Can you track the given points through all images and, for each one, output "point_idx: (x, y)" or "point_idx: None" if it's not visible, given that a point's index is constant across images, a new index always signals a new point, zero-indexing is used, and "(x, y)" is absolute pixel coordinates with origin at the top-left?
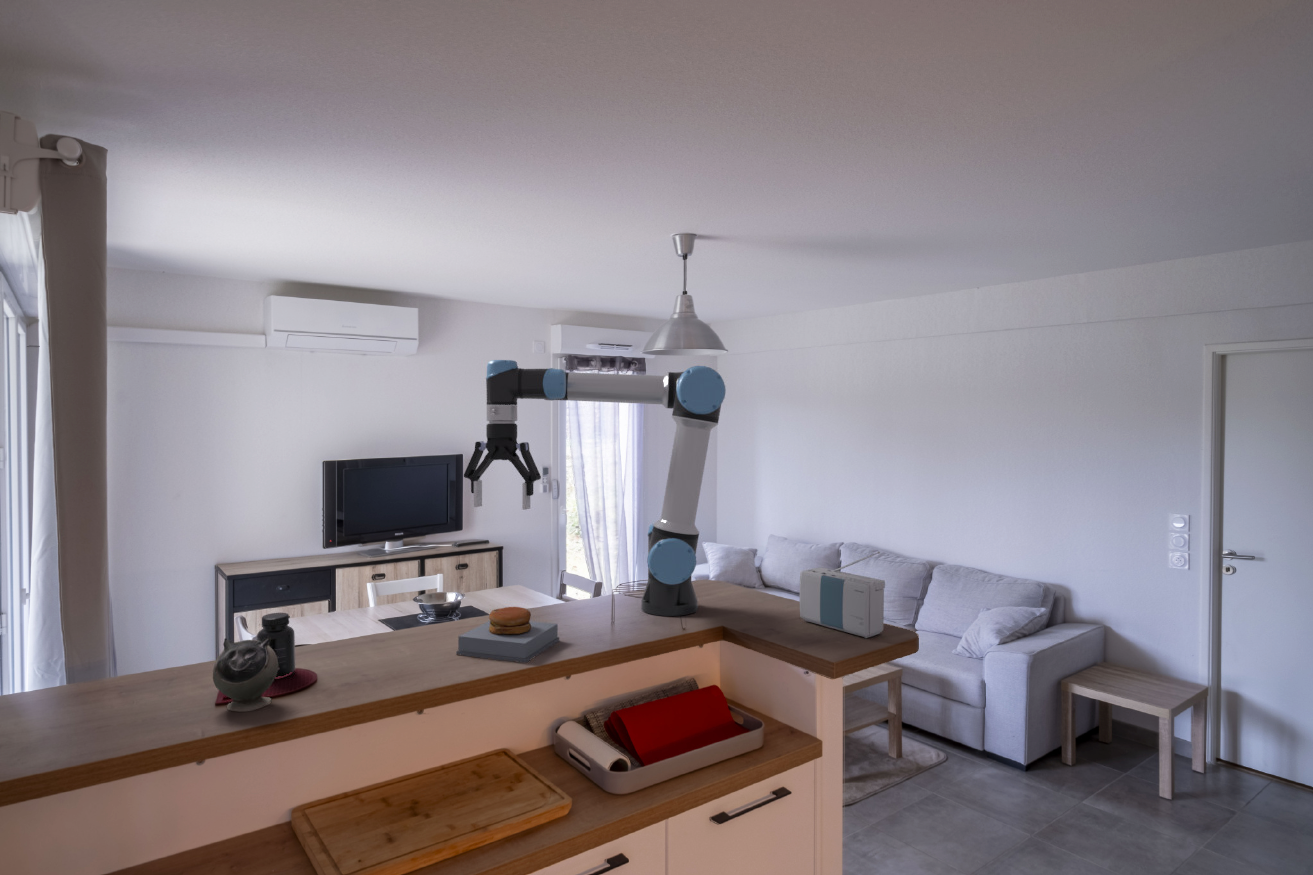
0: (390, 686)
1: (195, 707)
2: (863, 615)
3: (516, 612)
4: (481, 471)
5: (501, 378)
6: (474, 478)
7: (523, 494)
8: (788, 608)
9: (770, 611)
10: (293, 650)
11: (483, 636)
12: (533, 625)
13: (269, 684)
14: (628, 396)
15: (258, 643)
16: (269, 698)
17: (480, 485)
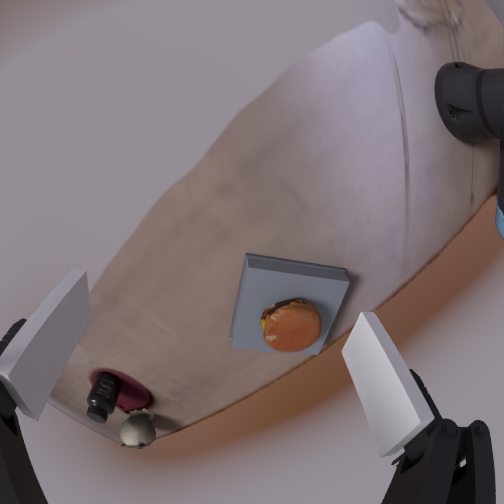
0: (211, 395)
1: (119, 414)
2: None
3: (305, 343)
4: (29, 475)
5: None
6: (17, 425)
7: (367, 406)
8: None
9: None
10: (115, 395)
11: (262, 344)
12: (317, 295)
13: (153, 426)
14: None
15: (139, 445)
16: (146, 410)
17: (31, 364)
